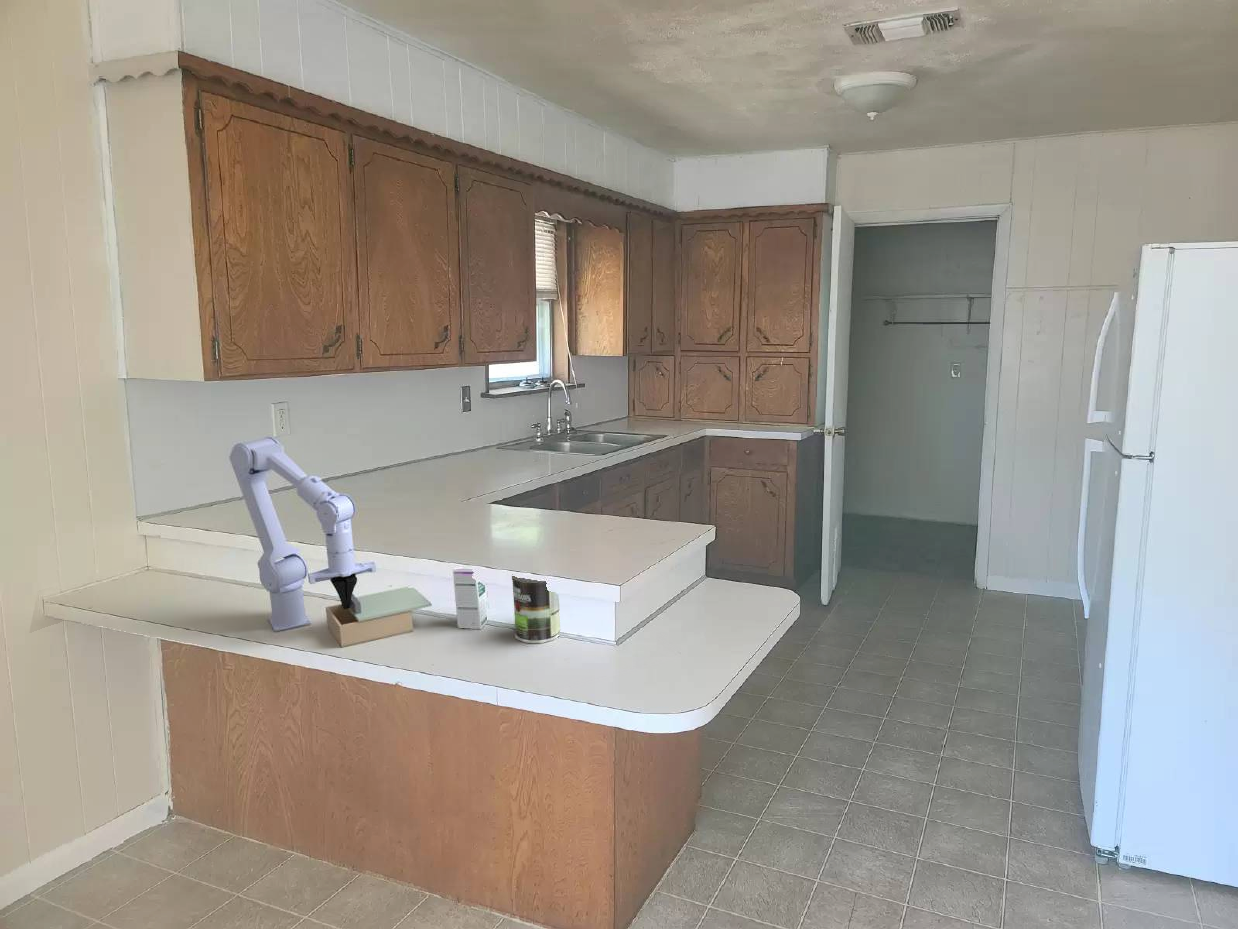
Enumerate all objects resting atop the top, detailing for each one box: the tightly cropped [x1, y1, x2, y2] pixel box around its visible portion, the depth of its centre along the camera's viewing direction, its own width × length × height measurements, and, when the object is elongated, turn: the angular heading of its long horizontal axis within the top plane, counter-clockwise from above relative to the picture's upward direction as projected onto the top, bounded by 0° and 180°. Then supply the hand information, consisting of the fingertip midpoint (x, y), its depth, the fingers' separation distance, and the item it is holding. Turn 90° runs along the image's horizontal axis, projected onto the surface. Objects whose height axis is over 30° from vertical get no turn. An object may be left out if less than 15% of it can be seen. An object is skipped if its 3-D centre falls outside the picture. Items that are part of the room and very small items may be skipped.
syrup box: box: [452, 566, 488, 630], centre depth 201 cm, size 6×6×14 cm
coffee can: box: [511, 575, 561, 644], centre depth 194 cm, size 10×10×14 cm
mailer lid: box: [348, 586, 433, 622], centre depth 202 cm, size 15×17×3 cm
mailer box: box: [325, 603, 414, 648], centre depth 201 cm, size 14×16×5 cm
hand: (346, 607), depth 198 cm, fingers closed
